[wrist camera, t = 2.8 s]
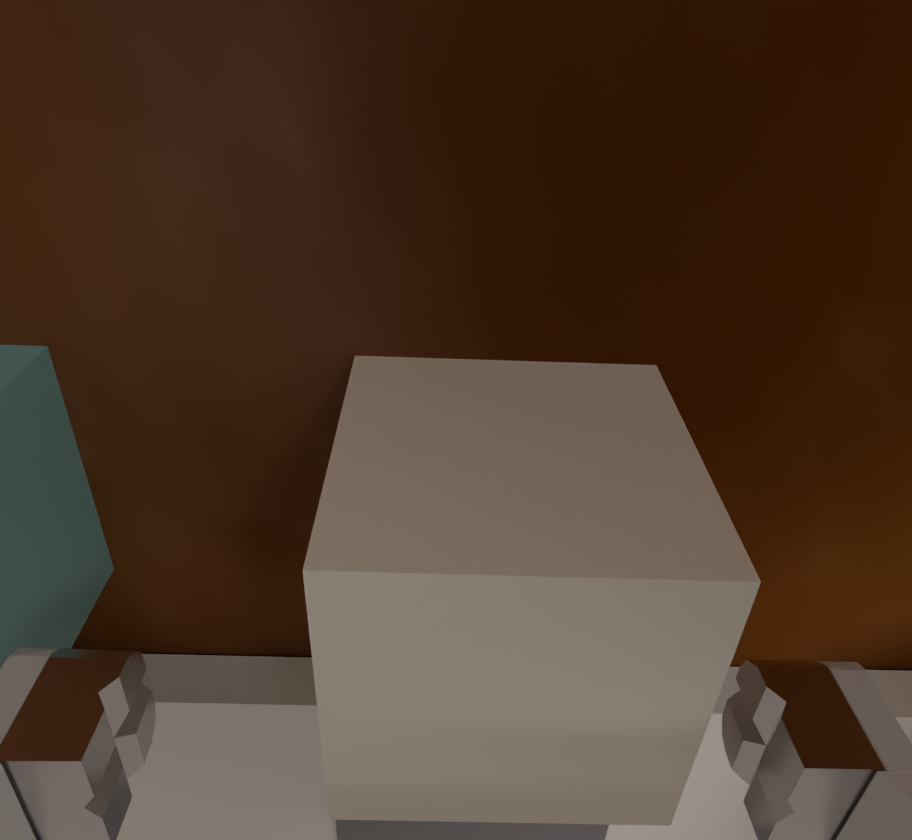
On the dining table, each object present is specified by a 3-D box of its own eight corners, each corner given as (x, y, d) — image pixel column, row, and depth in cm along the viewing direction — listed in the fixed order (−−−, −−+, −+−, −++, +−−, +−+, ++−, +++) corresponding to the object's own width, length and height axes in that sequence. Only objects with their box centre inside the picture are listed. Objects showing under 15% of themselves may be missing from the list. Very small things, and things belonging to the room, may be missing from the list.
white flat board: (926, 671, 16) (960, 722, 15) (777, 919, 23) (794, 968, 22) (22, 651, 16) (-10, 703, 15) (134, 911, 22) (118, 959, 21)
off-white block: (655, 363, 12) (761, 581, 8) (609, 578, 15) (670, 825, 11) (355, 353, 12) (303, 570, 8) (364, 572, 15) (328, 819, 11)
